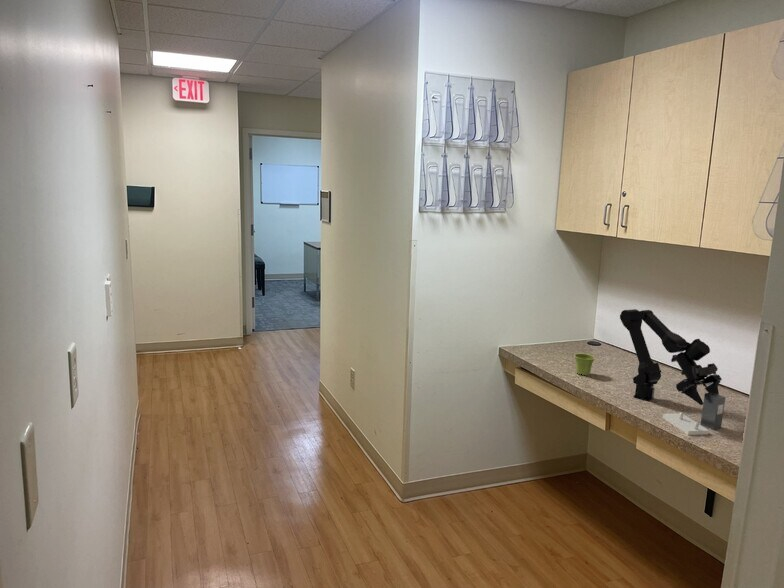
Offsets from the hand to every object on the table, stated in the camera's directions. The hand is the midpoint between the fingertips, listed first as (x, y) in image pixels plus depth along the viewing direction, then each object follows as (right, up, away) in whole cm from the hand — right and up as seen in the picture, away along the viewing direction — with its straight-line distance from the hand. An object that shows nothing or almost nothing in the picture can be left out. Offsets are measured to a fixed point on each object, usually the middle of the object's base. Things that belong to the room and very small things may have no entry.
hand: (710, 403), depth 217 cm
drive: (0, -9, +1) cm, 9 cm away
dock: (-9, -9, +1) cm, 13 cm away
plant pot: (-29, +3, +59) cm, 66 cm away
